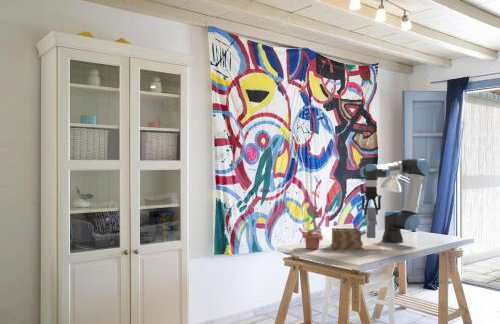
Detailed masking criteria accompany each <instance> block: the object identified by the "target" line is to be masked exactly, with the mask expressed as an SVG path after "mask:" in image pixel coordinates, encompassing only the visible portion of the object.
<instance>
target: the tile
mask: <svg viewBox="0 0 500 324" xmlns="http://www.w3.org/2000/svg"><path fill="white" fill-rule="evenodd" d="M361 248H362V251H367V252H369V251H370V252H382V251H383V249H382V248H381V247H380V246H378V245H361Z"/></svg>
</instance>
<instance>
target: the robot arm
mask: <svg viewBox="0 0 500 324" xmlns="http://www.w3.org/2000/svg"><path fill="white" fill-rule="evenodd" d="M430 169H431V165H430V163H429V161H428V160H427V159H424V158H406V159H401V160H395V161H394V162H390V163H385V164H383V163H382V164H377V163H375V164H374V163H368V164H366V165H365V166H361V168H360V169H359V174H360V176H361V177H362V178H365V193H364V194H361V210H363V211H364V216H365V220H368V210H367V207H368V206H369V203H370V201H371V200H372V201H373V205H374V208H376V216H378V215H379V213H378V212H379V211H381V199H382V195H381V194H378V187H377V186H378V178H381V179H384V178H388V177H390V174H405V175H406V174H407V175H408V177H409V181H408V186H407V190H406V191H407V192H406V195H405V200H404V201H405V202H404V205H403V208H402V209H401V210H393V211H391V210H390V211H385V212H384V217H383V218H384V231H383V235H382V238H381V241H382V242H384V243H390V244H392V243H393V244H394V243H395V244H400V243H404V238H403V236H402V232H401V231H402V230H406V231H415V230H417V229H418V228H419V226H420V224H421V219H420V217H419V216H418V212H417V209H418V203H419V198H420V192H421V188H422V187H421V186H422V182H423V180H424V179H425V178H426V175H428V174H429V173H430V171H431V170H430ZM365 198H366V201H365ZM376 198H377V200H376Z"/></svg>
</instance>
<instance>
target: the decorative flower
mask: <svg viewBox="0 0 500 324" xmlns="http://www.w3.org/2000/svg"><path fill="white" fill-rule="evenodd" d="M306 214H307V215H308V216H309V217H310V218H311V219H312V220H311V221H310V223H309V225H312V224H313V227H314V228H313V229H307V228H306V229H305V230H306V231H308V232H307V233H302V238H304V240H305V248H306V249H309V250H318V249H319V248H320V239H323V238H324V236H323V234H320V233H314V232H316V231H318V230H319V231H322V229H321V228H320V227H319V226H318V225H317V222H316V219H319V218H320V216H321V215H322V213H321V211H318V207H317V206H316V205H308V206H307V207H306Z"/></svg>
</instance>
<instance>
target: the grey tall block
mask: <svg viewBox="0 0 500 324" xmlns="http://www.w3.org/2000/svg"><path fill="white" fill-rule="evenodd" d="M367 210H368V220H366V219H365V223H366V238H368V239H376V225H378V221H377V215H376V208H375V207H371V206H370V207H367Z"/></svg>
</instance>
